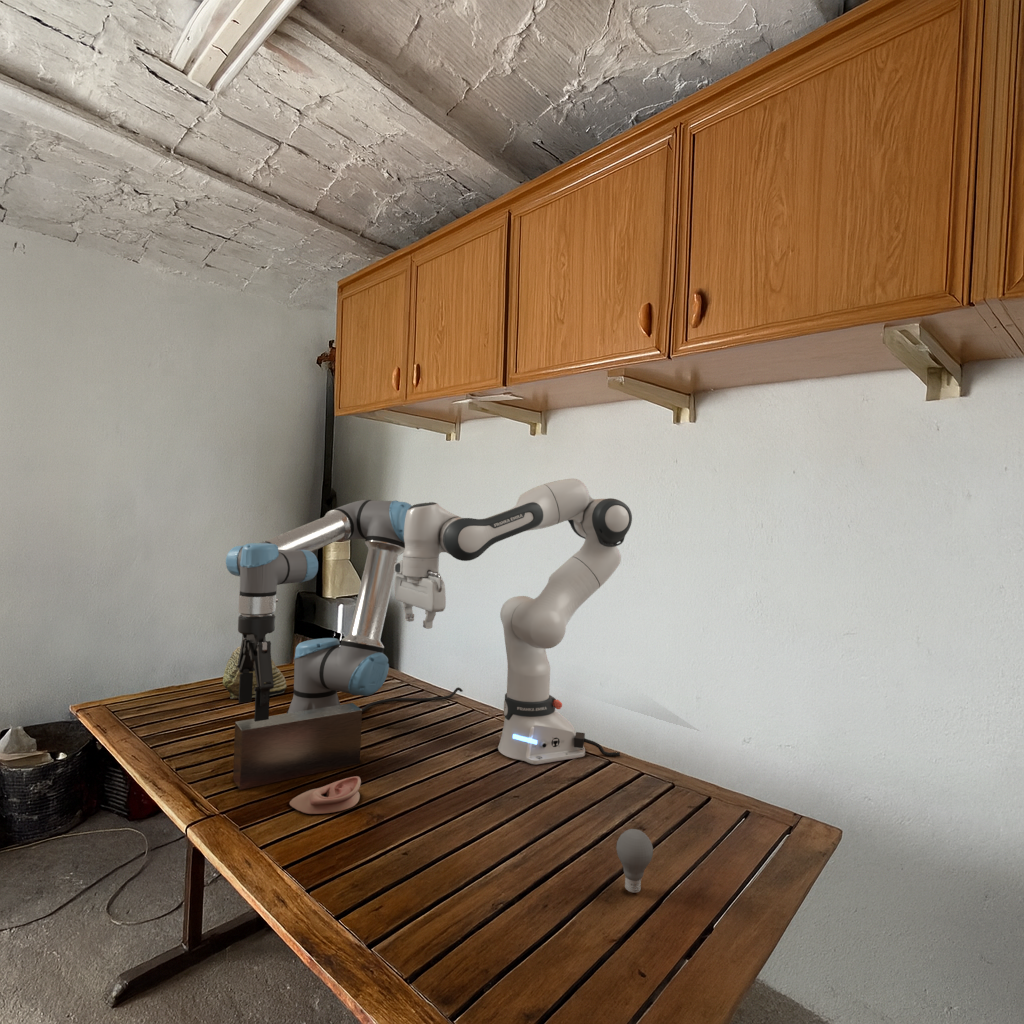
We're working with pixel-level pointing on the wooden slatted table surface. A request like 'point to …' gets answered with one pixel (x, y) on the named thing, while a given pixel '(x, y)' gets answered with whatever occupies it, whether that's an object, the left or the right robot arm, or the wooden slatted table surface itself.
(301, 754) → the box
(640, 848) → the light bulb
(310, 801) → the anatomical model
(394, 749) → the wooden slatted table surface
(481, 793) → the wooden slatted table surface
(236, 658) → the fossil
